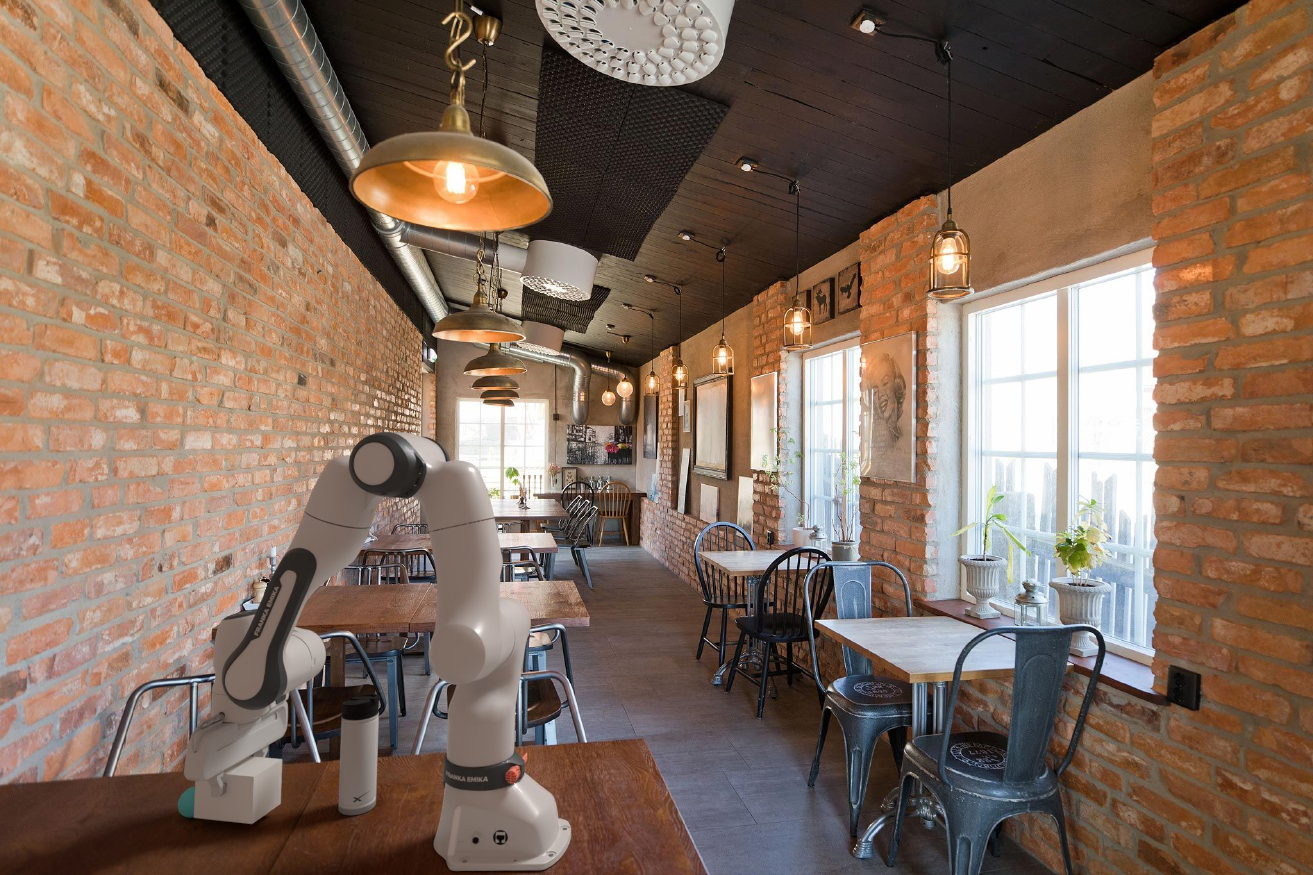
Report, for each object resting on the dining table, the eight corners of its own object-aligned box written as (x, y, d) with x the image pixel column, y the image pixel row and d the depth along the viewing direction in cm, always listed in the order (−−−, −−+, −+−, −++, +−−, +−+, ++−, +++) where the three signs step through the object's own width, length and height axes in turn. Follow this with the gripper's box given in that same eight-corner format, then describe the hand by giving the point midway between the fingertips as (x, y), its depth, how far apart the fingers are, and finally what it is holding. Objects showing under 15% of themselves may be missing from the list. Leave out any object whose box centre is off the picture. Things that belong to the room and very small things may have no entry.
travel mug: (363, 818, 122) (367, 703, 123) (330, 813, 123) (334, 700, 124) (384, 801, 128) (388, 691, 129) (352, 797, 129) (356, 688, 130)
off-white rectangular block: (280, 803, 123) (282, 759, 123) (252, 823, 116) (253, 776, 116) (225, 798, 125) (226, 754, 125) (193, 817, 118) (195, 771, 118)
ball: (209, 774, 124) (189, 790, 125) (186, 787, 119) (165, 803, 120) (223, 798, 124) (203, 814, 124) (201, 812, 119) (180, 828, 119)
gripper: (210, 727, 110) (206, 815, 110) (295, 686, 131) (292, 760, 130) (175, 724, 111) (171, 811, 111) (265, 684, 132) (262, 758, 131)
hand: (237, 783), depth 121 cm, fingers closed on off-white rectangular block, 7 cm apart
